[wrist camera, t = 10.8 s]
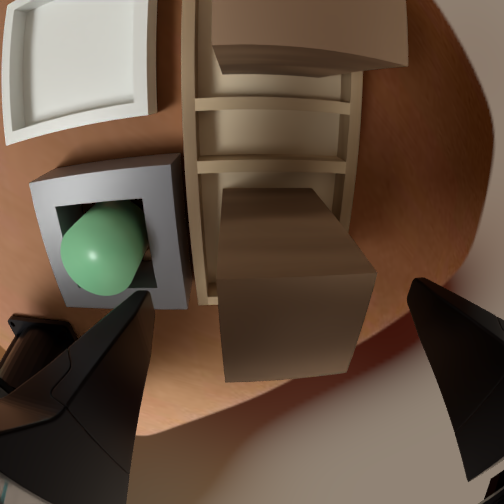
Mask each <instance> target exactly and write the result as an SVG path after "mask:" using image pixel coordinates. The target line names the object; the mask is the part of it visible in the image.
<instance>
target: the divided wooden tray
mask: <svg viewBox="0 0 504 504" xmlns="http://www.w3.org/2000/svg"><path fill="white" fill-rule="evenodd" d="M362 85H363V71H358V72H351V73H345V74H338V75H332V76H327V77H321V78H314V77H303V76H288V75H263V74H229V75H222V72H221V69H220V67H219V64H218V61H217V58H216V56H215V53H214V50H213V48H212V0H182V21H181V93H182V125H183V146H184V164H185V179H186V193H187V205H188V217H189V228H190V238H191V248H192V257H193V266H194V275H195V283H196V291H197V299H198V305H218V296H217V283H216V276H217V260H218V245H219V231H220V217H221V204H222V192H223V189H228V188H312V189H313V190H314V191H315V192H316V194H317V195H318V196H319V197H320V199H321V200H322V201H323V202H324V203H325V205H326V206H327V207H328V208H329V210H330V211H331V212H332V213H333V215H334V216H335V217H336V218H337V220H338V221H339V222H340V224H341V225H342V226H343V227H344V229H345V230H346V231H347V233H348V231H349V225H350V218H351V211H352V204H353V196H354V188H355V179H356V170H357V160H358V150H359V138H360V124H361V108H362Z"/></svg>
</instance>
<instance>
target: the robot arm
mask: <svg viewBox="0 0 504 504" xmlns="http://www.w3.org/2000/svg"><path fill="white" fill-rule="evenodd" d="M407 303H408V306H409V309H410V312H411V315H412V318H413V321H414V324H415V327H416V330H417V333H418V336H419V338H420V341H421V343H422V345H423V348H424V350H425V353H426V355H427V357H428V360H429V362H430V365H431V367H432V370H433V372H434V375H435V378H436V380H437V383H438V385H439V388H440V391H441V394H442V396H443V399H444V402H445V405H446V408H447V411H448V414H449V417H450V420H451V423H452V426H453V429H454V432H455V436H456V439H457V443H458V447H459V450H460V454H461V457H462V461H463V465H464V469H465V473H466V478H467V480H468V482H469V481H471V480H473V479H474V478H476V477H478V476H479V475H481V474H483V473H484V472H486V471H488V470H489V469H491V468H492V467H494V466H495V465H497V464H498V463H500V462H501V461H503V460H504V320H502V319H501V318H498V317H496V316H495V315H493V314H492V313H490V312H488V311H486V310H485V309H482V308H481V307H479V306H477V305H475V304H474V303H472V302H470V301H468V300H466V299H464V298H462V297H461V296H459V295H457V294H455V293H453V292H451V291H449V290H447V289H445V288H444V287H442V286H440V285H438V284H436V283H434V282H432V281H430V280H428V279H426V278H423V277H422V278H415V279H414V280H413V281H412V284H411V287H410V290H409V293H408V296H407ZM154 321H155V310H154V306H153V302H152V298H151V294H150V292H149V291H148V290H137V291H135V292H134V293H133V294H132V295H130V296H129V297H128V298H127V299H126V300H124V301H123V302H122V303H121V304H119V305H118V306H117V307H116V308H115V309H113V310H112V311H111V312H110V313H109V314H107V315H106V316H105V317H104V318H103V319H101V320H100V321H99V322H98V323H97V324H95V325H94V326H93V327H92V328H91V329H89V330H88V331H87V332H86V333H85V334H84V335H82V336H81V337H80V338H79V339H77V337H76V335H75V333H74V331H73V329H72V327H71V325H70V324H69V323H67V322H65V321H56V320H45V319H34V318H25V317H16V316H11V317H10V318H9V320H8V323H9V325H10V327H11V329H12V331H13V332H14V334H15V337H14V339H13V341H12V342H11V344H10V346H9V347H8V349H7V351H6V353H5V354H4V356H3V358H2V360H1V362H0V504H126V500H127V492H128V483H129V474H130V467H131V460H132V453H133V446H134V440H135V434H136V428H137V423H138V417H139V412H140V406H141V401H142V396H143V391H144V386H145V381H146V376H147V372H148V367H149V362H150V357H151V348H152V338H153V329H154ZM479 504H504V470H503V471H502V472H500V473H499V474H497V475H496V476H494V477H493V478H491V480H490V484H489V486H488V489H487V492H486V495H485V498H484V500H483V501H482V502H480V503H479Z"/></svg>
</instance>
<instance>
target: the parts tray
mask: <svg viewBox="0 0 504 504" xmlns="http://www.w3.org/2000/svg"><path fill="white" fill-rule="evenodd" d="M157 1H158V0H16V1H14V2H12V3H10V4H9V5H7V12H6V19H5V27H4V37H3V50H2V107H3V121H4V132H5V141H6V146H7V145H10V144H13V143H16V142H20V141H23V140H26V139H30V138H33V137H37V136H41V135H44V134H48V133H52V132H56V131H60V130H65V129H69V128H73V127H78V126H83V125H88V124H93V123H98V122H104V121H110V120H116V119H122V118H129V117H136V116H144V115H150V114H154V113H157V89H156V25H157Z"/></svg>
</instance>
